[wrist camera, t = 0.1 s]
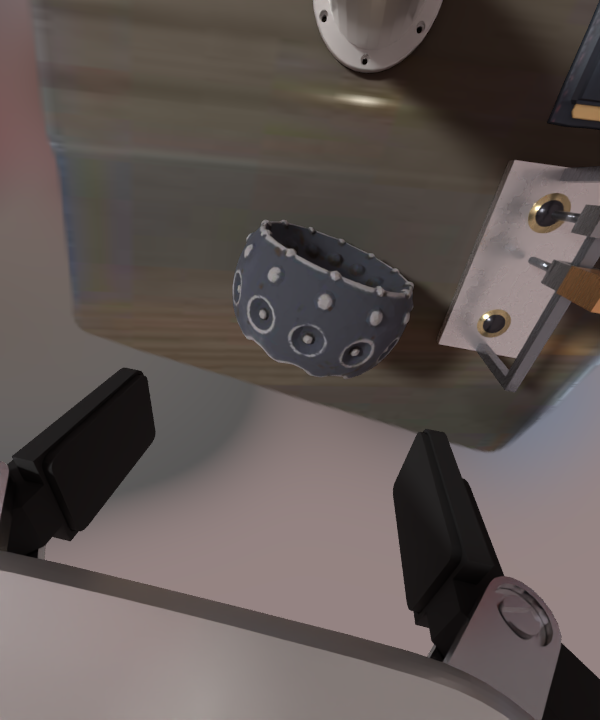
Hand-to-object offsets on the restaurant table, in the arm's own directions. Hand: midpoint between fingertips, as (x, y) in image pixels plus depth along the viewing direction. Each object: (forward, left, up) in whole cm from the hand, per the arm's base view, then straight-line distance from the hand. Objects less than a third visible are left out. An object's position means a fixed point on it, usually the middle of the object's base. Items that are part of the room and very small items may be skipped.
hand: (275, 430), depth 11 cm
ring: (+4, 0, -37) cm, 37 cm away
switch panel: (0, +24, -37) cm, 44 cm away
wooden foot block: (-2, +24, -34) cm, 42 cm away
